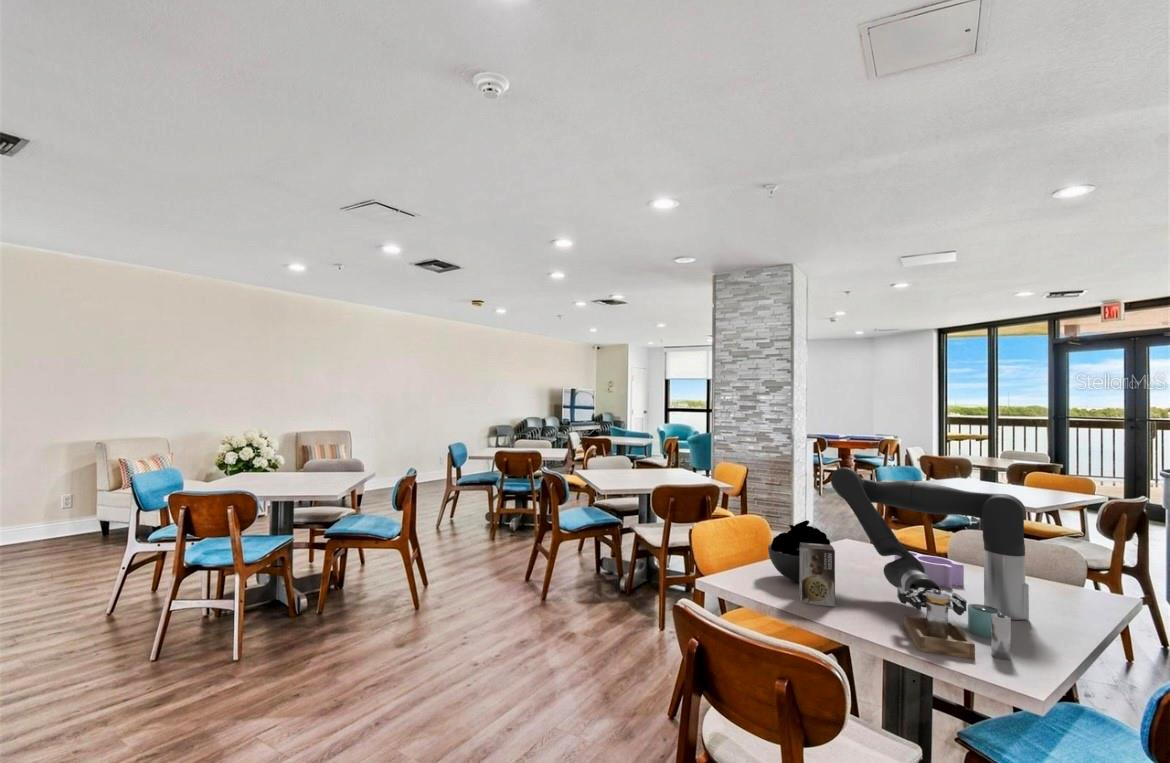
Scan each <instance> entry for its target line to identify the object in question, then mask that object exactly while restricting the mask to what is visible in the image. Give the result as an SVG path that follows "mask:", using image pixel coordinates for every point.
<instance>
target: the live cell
mask: <svg viewBox="0 0 1170 763" xmlns="http://www.w3.org/2000/svg"><path fill="white" fill-rule="evenodd" d="M948 595H949V593H948V594H947V593H946V592H943V591H942V590H941V591H939V590H928V591H927V593H926V608H925V609H926V612H925V613H926V614H925V615H926V636H929V637H936V638H944V639H948V621H949V609H948Z"/></svg>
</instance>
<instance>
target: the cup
mask: <svg viewBox="0 0 1170 763" xmlns="http://www.w3.org/2000/svg"><path fill="white" fill-rule="evenodd" d="M997 613H1002V612H1001V611H1000V610H999V609H996V608H994V607H990V606H986V605H984V604H980V603H970V604H968V605H967V630H968V632H970V633H971V634H974V635H976V636H979V637H983V638H988V639H991V614H997Z"/></svg>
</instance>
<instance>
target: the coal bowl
mask: <svg viewBox="0 0 1170 763" xmlns="http://www.w3.org/2000/svg"><path fill="white" fill-rule="evenodd" d="M810 523H811V522H810V521H809V520H808V519H806V520H802V522H798V523H795V524H789V525H788V526H789V528H790V530H788V531H787V532H781V533H779V534H777V535H776V536H775V537H773V539H772V541H771V544H769V545H768V546H767V551H768V556H769V559H770V561H771V563H772V565H773V566H774V568H775V569H776V570H777V571H778V572H779V573H780V575H782V576H783V577H785V578H786V579H788V580H790V581H793V582H796V583H799V574H800V543H814V544H826V545H831V540H830V539H829V538H828V536H827V533H824V532H823V531H821V530H820V529H819V528H817V527H814V526H810V525H809V524H810Z"/></svg>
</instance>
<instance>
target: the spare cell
mask: <svg viewBox="0 0 1170 763" xmlns="http://www.w3.org/2000/svg"><path fill="white" fill-rule="evenodd" d="M1011 621H1012V619H1011V618H1010V617H1008V616H1005V615H1004V614H1002V613H997V614H991V638H990V639H991V642H990V645H991V652H990V653H991V656H992V657H994V658H996V659H999V660H1002V661H1003V660H1005V661H1010V660H1011V659H1012V624H1011Z"/></svg>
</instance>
